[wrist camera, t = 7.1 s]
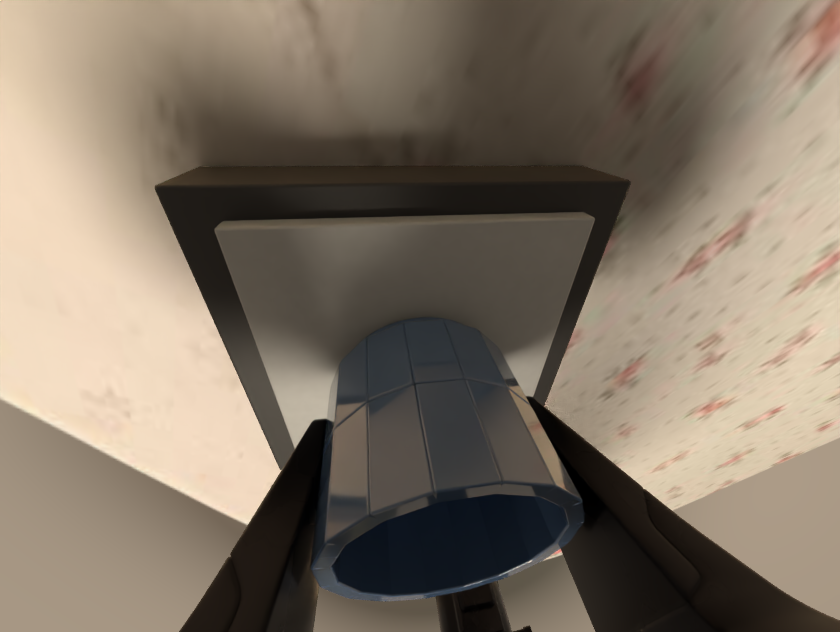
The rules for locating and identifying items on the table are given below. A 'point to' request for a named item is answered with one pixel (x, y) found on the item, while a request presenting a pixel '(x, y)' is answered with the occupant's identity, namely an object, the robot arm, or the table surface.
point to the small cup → (434, 469)
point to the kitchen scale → (386, 266)
